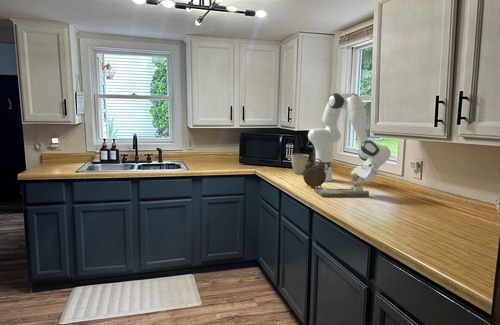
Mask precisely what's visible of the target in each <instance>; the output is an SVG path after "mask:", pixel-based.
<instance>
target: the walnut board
mask: <svg viewBox="0 0 500 325" xmlns="http://www.w3.org/2000/svg"><path fill="white" fill-rule="evenodd" d="M313 192H314V194H317V195H319V196H320V197H321V198H369V197H370V191H369V190H363V191H351V188H313Z"/></svg>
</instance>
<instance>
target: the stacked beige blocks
mask: <svg viewBox="0 0 500 325" xmlns="http://www.w3.org/2000/svg"><path fill="white" fill-rule="evenodd" d="M357 179H359V178H358V176H357V173H353V174H351V173H350V180H352V182H351V183H352V185H351V186H350V189H351V191H364V187H363V185H361V184H360V182H359V183H357V184H355V183H354V181H355V180H357Z"/></svg>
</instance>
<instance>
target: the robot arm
mask: <svg viewBox="0 0 500 325" xmlns="http://www.w3.org/2000/svg"><path fill="white" fill-rule="evenodd" d="M342 110H346V113H347V115H348V118H349V121H350V123H351V125H352V127H353V130H354V132H355V135H356V139H357V143H358V146H359V148H358V149H359V150H358V158H359V159H361V160H362V161H364V162H362V164H361V165H358V166H356V167H355V168H354V169H352V170H351V172H350V174H353V173H357V176H358V179H357V180H355V181H354V183H355V184H357V183H359V184H360V182H361V183H362V181H364V182H367V183H368V182H371V181H372V180H373V179H374V178H375V177H376V176H377V175H379V174H380V172H379V169H380V167H381V166H382V165H384V164H385V163H386V162H387V161H388V160H389V159H390V158H391V155H392V153H391V150H390V149H389V147H388V146H386V145H383V144H379V143H376V142H374V141H373V140H370V139H368V135H367V129H366V128H367V121H368V118H367V111H366V108H365V105H364V103H363V101H362V98H360V96H359V95H358V94H357V93H352V92H351V93H350V92H340V93H339V92H338V93H337V92H336V93H332V94H330V95H329V98H328V101H327V102H326V105H325V108H324V111H323V114H322V118H321V122H322V123H323V124H324V125H325V127H324V128H323V127H321V128H319V127H317V128H312V129H309V131H308V134H307V138H308V140H309V142H310V143H312V145H313V146H314V150H315V158H317V159H320V160H321V161H322V162H324V163H323V164H324V165H325V169H324V171H325V173H326V179H325V182H330V181H334V178H333V169H332V168H331V164H332V162H331V156H332V153H331V152H332V151H331V150H330V149H329V148H327V147H326V146H327V145H326V144H334V143H338V142H340V140H341V139H342V138H341V137H342V136H341V132H340V130H339V129H338V121H339V118H340V115H341V111H342ZM317 159H314V162H313V165H314V166H315V165H317V164H318V163H321V162H320V160H317ZM314 163H316V164H314ZM350 182H351V183H352V179H350Z"/></svg>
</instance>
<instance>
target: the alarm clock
mask: <svg viewBox="0 0 500 325" xmlns="http://www.w3.org/2000/svg"><path fill="white" fill-rule="evenodd" d="M315 159H317V158H316V157H313V158H310V159H308V161H307V163H306V164H305V168H306V169H305V171H304V174H302V176H303V181H304V183H305V184H306V187H309V186H310V187H311V188H316V189H319V187H320V189H323V188H322V185H323V184H324V183H325V182H326V181H325V179H326V173H325V171H324V169H325V165H324V164H323V163H324V162H322V161H321V160H320V159H317V160H320V162H321V163H318V164H317V165H315V166H314V164H316V163H314V162H312V160H315Z"/></svg>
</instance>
